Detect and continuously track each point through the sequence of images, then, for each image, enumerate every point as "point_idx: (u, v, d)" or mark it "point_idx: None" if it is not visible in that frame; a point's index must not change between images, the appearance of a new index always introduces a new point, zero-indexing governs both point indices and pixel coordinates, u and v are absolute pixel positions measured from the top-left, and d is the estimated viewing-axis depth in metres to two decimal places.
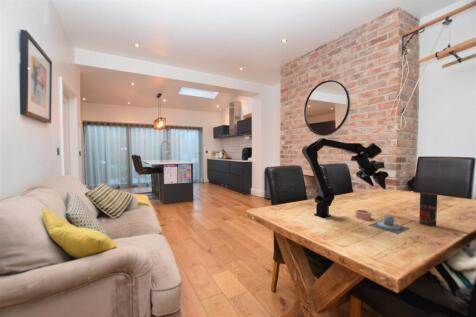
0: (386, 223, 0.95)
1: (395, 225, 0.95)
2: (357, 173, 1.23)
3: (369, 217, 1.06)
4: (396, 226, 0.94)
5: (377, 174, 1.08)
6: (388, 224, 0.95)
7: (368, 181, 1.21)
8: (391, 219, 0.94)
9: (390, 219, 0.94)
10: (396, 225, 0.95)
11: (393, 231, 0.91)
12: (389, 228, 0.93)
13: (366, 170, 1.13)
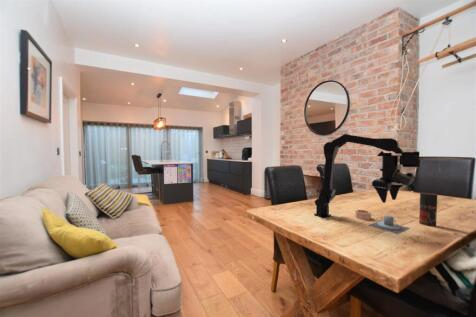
0: (386, 223, 0.95)
1: (395, 225, 0.95)
2: None
3: (369, 217, 1.06)
4: (396, 226, 0.94)
5: (379, 180, 0.92)
6: (388, 224, 0.95)
7: (391, 191, 0.99)
8: (391, 219, 0.94)
9: (390, 219, 0.94)
10: (396, 225, 0.95)
11: (393, 231, 0.91)
12: (389, 228, 0.93)
13: (382, 173, 0.96)
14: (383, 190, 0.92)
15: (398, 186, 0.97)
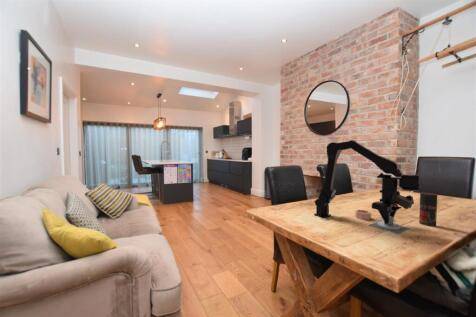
0: None
1: (395, 225, 0.95)
2: None
3: (369, 217, 1.06)
4: (396, 226, 0.94)
5: (378, 202, 0.93)
6: (388, 224, 0.95)
7: None
8: (391, 219, 0.94)
9: (390, 219, 0.94)
10: (396, 225, 0.95)
11: (393, 231, 0.91)
12: (389, 228, 0.93)
13: (382, 194, 0.96)
14: (386, 211, 0.94)
15: (395, 208, 0.96)
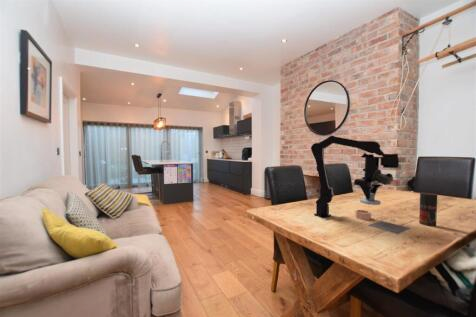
0: (368, 199, 1.04)
1: (376, 201, 1.04)
2: None
3: (369, 217, 1.06)
4: (376, 201, 1.02)
5: (360, 179, 1.01)
6: (369, 200, 1.03)
7: (370, 190, 1.06)
8: (372, 195, 1.03)
9: (371, 195, 1.03)
10: (377, 201, 1.03)
11: (393, 231, 0.91)
12: (370, 203, 1.01)
13: None
14: (367, 188, 1.02)
15: (376, 186, 1.04)
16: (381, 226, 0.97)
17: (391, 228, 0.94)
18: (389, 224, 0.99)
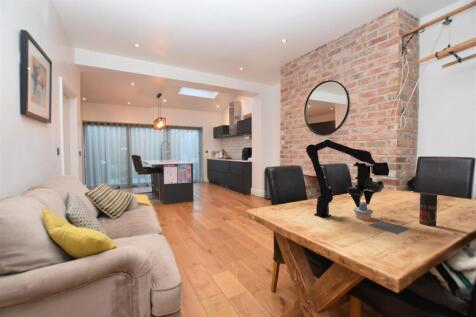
0: (360, 208, 1.08)
1: (368, 210, 1.08)
2: None
3: (369, 217, 1.06)
4: (369, 211, 1.06)
5: (353, 187, 1.05)
6: (362, 209, 1.07)
7: (366, 197, 1.12)
8: (365, 204, 1.07)
9: (364, 204, 1.07)
10: (369, 210, 1.08)
11: (393, 231, 0.91)
12: (362, 212, 1.05)
13: (357, 181, 1.09)
14: (357, 196, 1.05)
15: (371, 192, 1.10)
16: (381, 226, 0.97)
17: (391, 228, 0.94)
18: (389, 224, 0.99)
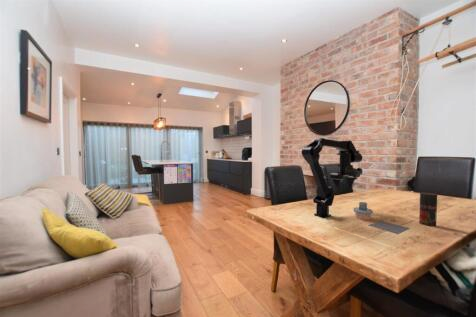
0: (360, 208, 1.08)
1: (368, 210, 1.08)
2: None
3: (369, 217, 1.06)
4: (369, 211, 1.06)
5: (335, 173, 1.18)
6: (362, 209, 1.07)
7: (348, 183, 1.24)
8: (365, 204, 1.07)
9: (364, 204, 1.07)
10: (369, 210, 1.08)
11: (393, 231, 0.91)
12: (362, 212, 1.05)
13: (339, 168, 1.21)
14: (338, 181, 1.18)
15: (353, 178, 1.22)
16: (381, 226, 0.97)
17: (391, 228, 0.94)
18: (389, 224, 0.99)
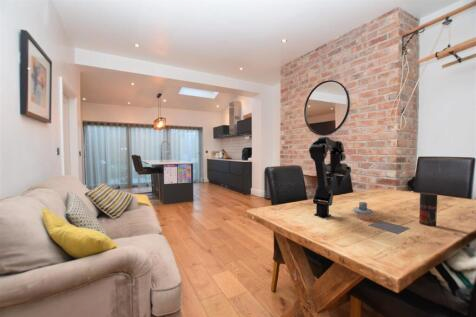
0: (360, 208, 1.08)
1: (368, 210, 1.08)
2: None
3: (369, 217, 1.06)
4: (369, 211, 1.06)
5: None
6: (362, 209, 1.07)
7: (338, 181, 1.32)
8: (365, 204, 1.07)
9: (364, 204, 1.07)
10: (369, 210, 1.08)
11: (393, 231, 0.91)
12: (362, 212, 1.05)
13: (330, 167, 1.29)
14: (329, 179, 1.25)
15: (342, 177, 1.30)
16: (381, 226, 0.97)
17: (391, 228, 0.94)
18: (389, 224, 0.99)
